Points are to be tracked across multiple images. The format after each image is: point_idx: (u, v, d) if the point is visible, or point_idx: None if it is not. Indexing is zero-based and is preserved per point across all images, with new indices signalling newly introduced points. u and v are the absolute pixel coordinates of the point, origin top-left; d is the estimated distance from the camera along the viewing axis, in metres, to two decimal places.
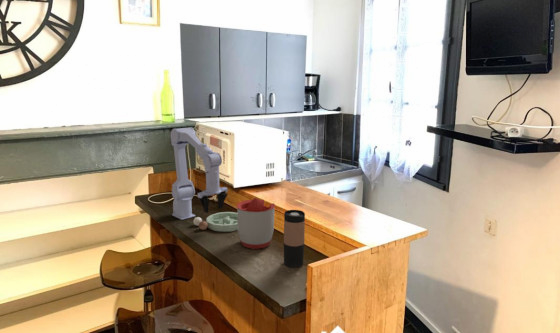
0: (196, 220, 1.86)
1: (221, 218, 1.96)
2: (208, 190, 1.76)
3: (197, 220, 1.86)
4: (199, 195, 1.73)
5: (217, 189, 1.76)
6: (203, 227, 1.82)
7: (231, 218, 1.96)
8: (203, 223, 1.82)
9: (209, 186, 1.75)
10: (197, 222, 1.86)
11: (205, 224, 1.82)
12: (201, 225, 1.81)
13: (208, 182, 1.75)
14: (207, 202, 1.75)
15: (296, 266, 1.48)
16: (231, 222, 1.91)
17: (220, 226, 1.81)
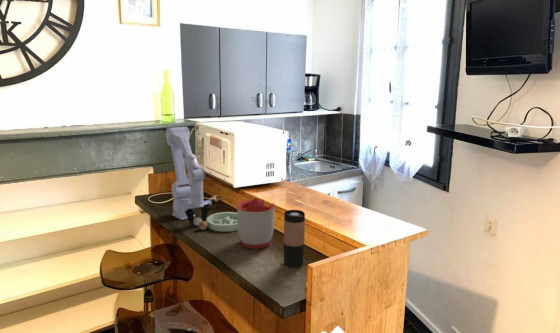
0: (196, 220, 1.86)
1: (221, 218, 1.96)
2: (192, 203, 1.84)
3: (197, 220, 1.86)
4: (183, 208, 1.81)
5: (201, 202, 1.84)
6: (203, 227, 1.82)
7: (231, 218, 1.96)
8: (203, 223, 1.82)
9: (193, 200, 1.83)
10: (197, 222, 1.86)
11: (205, 224, 1.82)
12: (201, 225, 1.81)
13: (192, 196, 1.83)
14: (192, 215, 1.83)
15: (296, 266, 1.48)
16: (231, 222, 1.91)
17: (220, 226, 1.81)
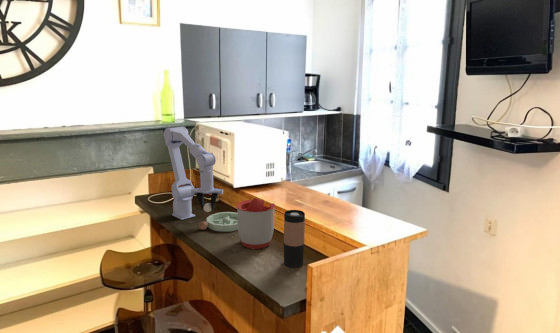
0: (204, 206, 1.84)
1: (221, 218, 1.96)
2: (200, 188, 1.83)
3: (204, 206, 1.84)
4: None
5: (206, 189, 1.81)
6: (203, 227, 1.82)
7: (231, 218, 1.96)
8: (203, 223, 1.82)
9: None
10: (204, 208, 1.84)
11: (205, 224, 1.82)
12: (201, 225, 1.81)
13: (200, 180, 1.82)
14: (200, 199, 1.83)
15: (296, 266, 1.48)
16: (231, 222, 1.91)
17: (220, 226, 1.81)
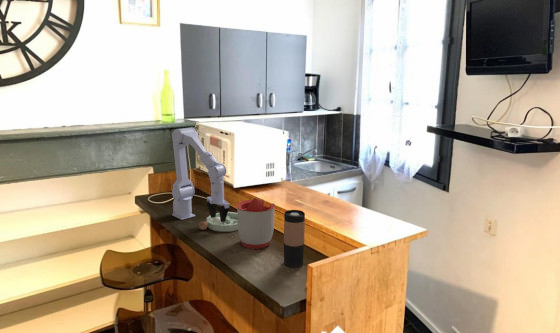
0: None
1: None
2: None
3: (214, 219, 1.86)
4: None
5: (213, 199, 1.82)
6: (203, 227, 1.82)
7: (231, 218, 1.96)
8: (203, 223, 1.82)
9: None
10: None
11: (205, 224, 1.82)
12: (201, 225, 1.81)
13: None
14: (208, 207, 1.87)
15: (296, 266, 1.48)
16: (231, 222, 1.91)
17: (220, 226, 1.81)
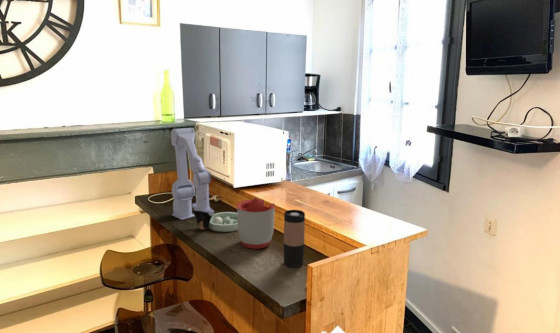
0: None
1: (221, 218, 1.96)
2: None
3: (214, 219, 1.86)
4: None
5: (197, 206, 1.79)
6: (203, 227, 1.82)
7: (231, 218, 1.96)
8: None
9: None
10: None
11: None
12: (201, 225, 1.81)
13: None
14: (195, 215, 1.83)
15: (296, 266, 1.48)
16: (231, 222, 1.91)
17: (220, 226, 1.81)
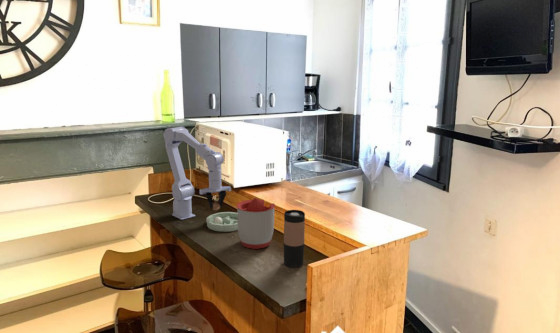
0: (214, 219, 1.86)
1: (221, 218, 1.96)
2: (209, 188, 1.85)
3: (214, 219, 1.86)
4: (200, 191, 1.84)
5: (218, 187, 1.85)
6: (219, 207, 1.89)
7: (231, 218, 1.96)
8: (218, 203, 1.89)
9: (210, 184, 1.84)
10: None
11: None
12: (218, 205, 1.88)
13: (209, 180, 1.84)
14: (210, 198, 1.85)
15: (296, 266, 1.48)
16: (231, 222, 1.91)
17: (220, 226, 1.81)
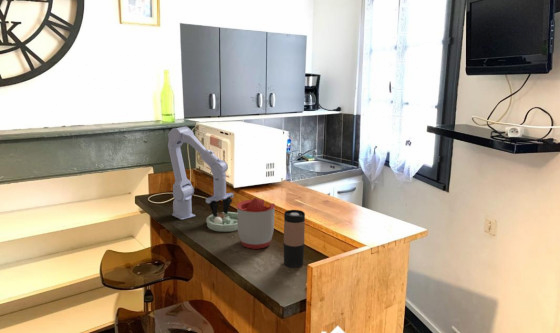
0: (214, 219, 1.86)
1: None
2: (215, 196, 1.88)
3: (214, 219, 1.86)
4: (207, 200, 1.86)
5: (224, 195, 1.89)
6: (224, 216, 1.93)
7: (231, 218, 1.96)
8: (223, 213, 1.93)
9: (216, 192, 1.87)
10: None
11: None
12: (224, 215, 1.92)
13: (215, 188, 1.87)
14: (216, 207, 1.88)
15: (296, 266, 1.48)
16: (231, 222, 1.91)
17: (220, 226, 1.81)
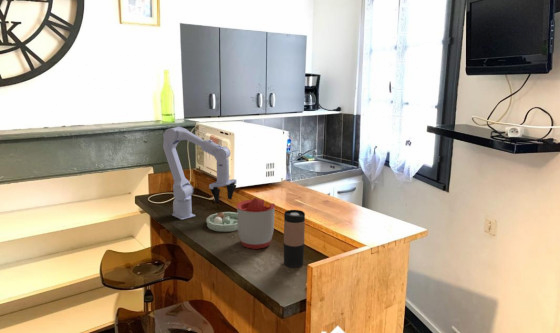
0: (214, 219, 1.87)
1: None
2: (219, 181, 1.89)
3: (214, 219, 1.86)
4: (210, 186, 1.87)
5: (227, 181, 1.90)
6: (224, 216, 1.93)
7: (231, 218, 1.96)
8: (223, 213, 1.93)
9: (219, 178, 1.88)
10: (213, 221, 1.86)
11: None
12: (223, 215, 1.92)
13: (219, 174, 1.88)
14: (218, 193, 1.88)
15: (296, 266, 1.48)
16: (231, 222, 1.91)
17: (220, 226, 1.81)
